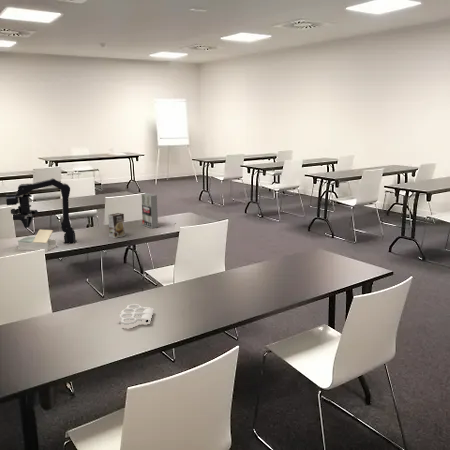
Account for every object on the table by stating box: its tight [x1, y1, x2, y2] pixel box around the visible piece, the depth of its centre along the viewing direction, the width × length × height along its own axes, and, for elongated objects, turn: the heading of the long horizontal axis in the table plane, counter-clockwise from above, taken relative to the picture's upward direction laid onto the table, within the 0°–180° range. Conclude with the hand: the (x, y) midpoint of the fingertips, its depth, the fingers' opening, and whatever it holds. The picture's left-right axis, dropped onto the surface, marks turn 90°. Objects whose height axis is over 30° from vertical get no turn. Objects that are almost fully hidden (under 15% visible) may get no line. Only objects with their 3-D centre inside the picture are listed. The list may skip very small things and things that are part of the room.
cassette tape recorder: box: [140, 192, 159, 229], centre depth 339 cm, size 14×6×25 cm, turn 42°
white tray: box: [17, 238, 58, 252], centre depth 285 cm, size 20×12×5 cm, turn 80°
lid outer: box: [17, 236, 36, 243], centre depth 285 cm, size 9×10×1 cm
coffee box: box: [107, 212, 126, 239], centre depth 311 cm, size 9×6×16 cm
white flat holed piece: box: [118, 303, 155, 325], centre depth 184 cm, size 3×18×15 cm
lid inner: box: [33, 229, 54, 243], centre depth 281 cm, size 9×10×1 cm
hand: (27, 227), depth 285 cm, fingers closed
